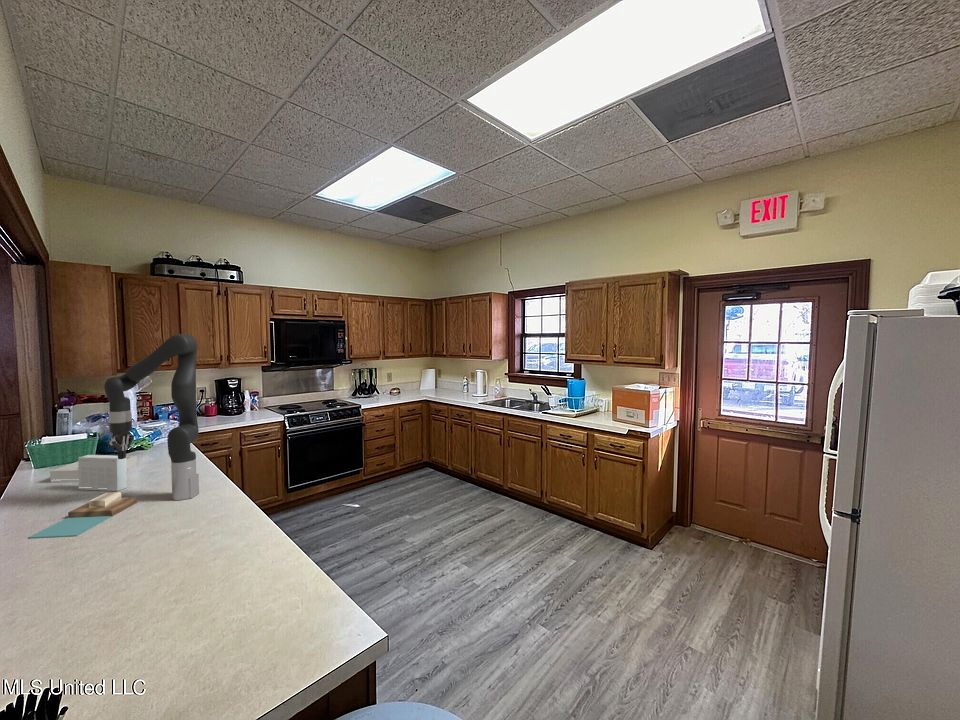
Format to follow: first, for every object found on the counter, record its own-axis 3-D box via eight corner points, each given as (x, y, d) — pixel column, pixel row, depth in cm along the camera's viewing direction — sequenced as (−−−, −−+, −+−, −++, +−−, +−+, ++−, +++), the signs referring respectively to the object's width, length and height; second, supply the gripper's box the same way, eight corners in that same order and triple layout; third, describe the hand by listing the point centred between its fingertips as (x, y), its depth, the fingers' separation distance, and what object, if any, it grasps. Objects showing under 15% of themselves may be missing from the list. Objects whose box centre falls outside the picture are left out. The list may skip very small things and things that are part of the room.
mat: (111, 517, 164) (111, 516, 164) (76, 536, 148) (76, 535, 148) (67, 518, 162) (67, 517, 162) (27, 538, 146) (27, 537, 146)
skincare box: (128, 487, 196) (127, 455, 195) (117, 491, 190) (116, 458, 190) (89, 485, 198) (88, 454, 197) (77, 489, 193) (76, 457, 192)
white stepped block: (137, 466, 228) (137, 455, 228) (103, 481, 204) (102, 469, 204) (90, 467, 225) (90, 457, 225) (50, 482, 201) (49, 471, 201)
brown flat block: (136, 502, 178) (136, 497, 178) (112, 516, 164) (111, 510, 164) (96, 504, 176) (96, 498, 176) (68, 518, 162) (68, 512, 162)
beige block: (121, 498, 176) (121, 492, 176) (105, 507, 167) (104, 500, 167) (106, 499, 175) (106, 492, 175) (89, 508, 166) (88, 501, 166)
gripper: (118, 423, 173) (120, 463, 174) (140, 417, 186) (141, 454, 187) (99, 424, 172) (100, 463, 173) (122, 417, 185) (124, 454, 186)
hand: (122, 458), depth 180 cm, fingers closed
